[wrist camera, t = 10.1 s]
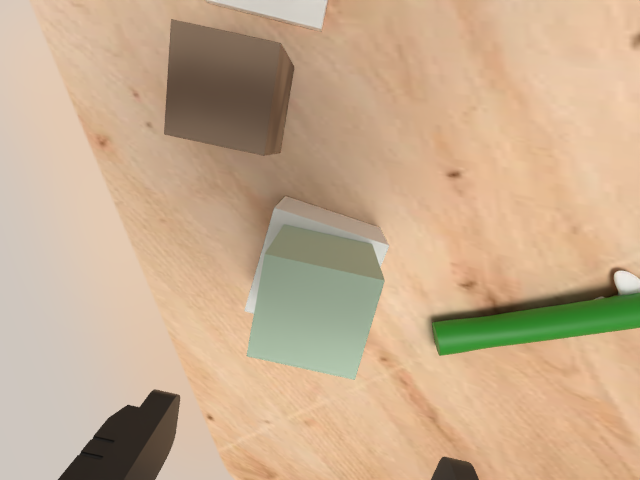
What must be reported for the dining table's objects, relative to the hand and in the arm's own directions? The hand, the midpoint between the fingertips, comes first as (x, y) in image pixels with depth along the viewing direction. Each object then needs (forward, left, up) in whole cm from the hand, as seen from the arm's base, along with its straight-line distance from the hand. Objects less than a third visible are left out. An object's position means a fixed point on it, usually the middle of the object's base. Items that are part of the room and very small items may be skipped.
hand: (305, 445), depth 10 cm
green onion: (-2, +24, -19) cm, 31 cm away
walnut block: (-10, -8, -18) cm, 22 cm away
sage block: (0, 0, -13) cm, 13 cm away
